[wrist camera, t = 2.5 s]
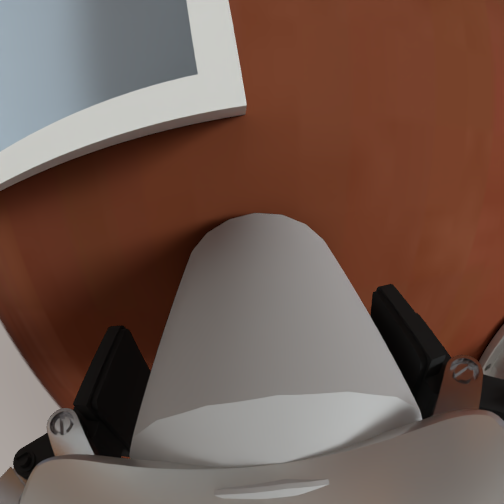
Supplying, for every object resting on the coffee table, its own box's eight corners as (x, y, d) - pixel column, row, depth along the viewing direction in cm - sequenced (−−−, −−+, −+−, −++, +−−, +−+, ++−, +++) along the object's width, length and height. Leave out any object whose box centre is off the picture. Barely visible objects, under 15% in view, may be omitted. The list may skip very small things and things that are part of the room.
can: (161, 243, 14) (44, 480, 3) (305, 182, 13) (487, 407, 2) (225, 349, 17) (217, 550, 6) (345, 306, 16) (429, 505, 5)
